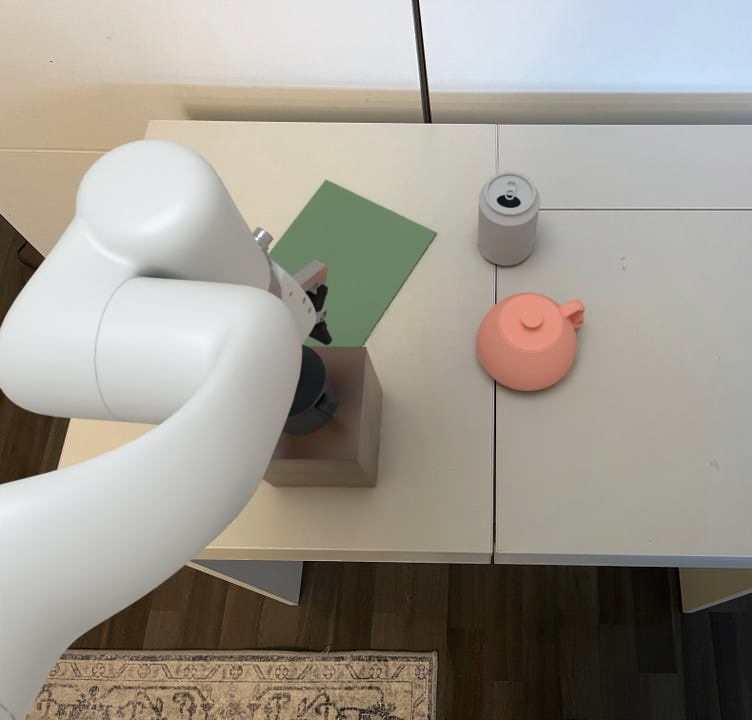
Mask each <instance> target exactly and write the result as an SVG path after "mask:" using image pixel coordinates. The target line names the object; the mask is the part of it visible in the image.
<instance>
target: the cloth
mask: <svg viewBox="0 0 752 720" xmlns="http://www.w3.org/2000/svg"><path fill="white" fill-rule="evenodd" d="M437 235H438V232H437V231H434V230H432V229H430V228H428V227H426V226H424V225H422V224H420V223H418V222H416V221H414V220H411V219H409V218H408V217H406V216H404V215H401V214H399V213H397V212H395V211H393V210H391V209H389V208H386V207H384V206H383V205H380V204H378V203H376V202H373V201H372V200H370V199H367V198H366V197H363V196H361V195H359V194H357V193H355V192H353V191H352V190H349V189H347V188H345V187H343V186H340V185H338V184H337V183H335V182H332V181H330V180H328V179H324V181H323V182H322V184H321V185H320V187H318V189H317V190H316V191H315V192H314V194H313V196H312V197H311V198H310V200H309V201H308V202H307V203H306V204H305V206H304V207H303V208H302V210H301V211H300V212H299V213H298V214H297V216H296V217H295V219H294V220H293V221H292V222H291V224H290V225H289V227H288V228H287V229H286V231H285V232H284V233H283V234H282V236H281V237H280V238H279V240H278V241H277V242H276V244H275V245H273V247H272V249H271V250H270V251H269V252H268V254H267V256H268V258H270V259H272V260H273V261H274V262H276V263H277V264H278V265H279V266H281V267H282V268H283V269H284V270H285V271H286V272H287V273H288V274H289V275H290V276H291V277H292V276H293V275H294V274H296V273H297V272H298V271H300V270H301V269H302V268H304V267H305V266H306V265H308V264H309V263H310V262H312V261H313V260H316V261H318V262H320V263H322V264H324V265H326V266H327V267H328V270H327V281H326V282H325V286H327V287H328V291H327V292H328V293H327V295H326V298H325V302H324V305H323V309H325V310H327V315H326V318H325V319H324V320H325V322H326V324H327V327H326V328H327V330H328V332H329V334H330V336H331V338H332V342H331V343H330V344H328V345H325V344H323V343H321V342H319V341H317V340H315V339H313V338H311V337H310V336H308V337H307V339H306V340H305V341H304V343H303V344H302V345H305V346H328V347H363V345H364V344H365V342H366V341H367V339H368V338H369V337H370V335H371V333H372V332H373V330H374V329H375V327H376V326H377V324H378V323H379V321H380V320H381V318H382V317H383V316H384V314H385V312H386V311H387V309H388V308H389V306H390V305H391V304H392V302H393V300H394V299H395V297H396V296H397V294H398V293H399V292H400V290H401V288H402V287H403V285H404V284H405V282H406V281H407V279H408V278H409V276H410V275H411V273H412V272H413V271H414V269H415V267H416V265H417V264H418V263H419V262H420V260H421V258H422V257H423V255H424V254H425V253H426V251H427V250H428V248H429V246H430V245H431V244H432V243H433V241H434V239H435V238H436V236H437Z"/></svg>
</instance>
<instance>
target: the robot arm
mask: <svg viewBox="0 0 752 720" xmlns="http://www.w3.org/2000/svg"><path fill="white" fill-rule="evenodd" d="M273 240H274V238H273V236H272V234H271V233H269V232H268V231H267V230H265V229H264V228H261V227H256V228H255V229H254V231H253V232H252V230H251V229H250V227H249V225H248V223H247V221H246V220H245V218H244V216H243V215H242V213H241V211H240V210H239V208H238V206H237V204H236V202H235V200H234V199H233V197H232V195H231V194H230V192H229V190H228V188H227V187H226V185H225V183H224V182H223V180H222V178H221V176H220V175H219V174H218V172H217V171H216V169H215V168H214V167H213V165H212V164H211V163H210V161H208V160H207V159H206V158H205V157H204V156H203V155H202V154H200V153H199V152H198V151H196V150H194V149H192V148H191V147H189V146H187V145H185V144H182V143H179V142H176V141H172V140H167V139H159V138H149V139H148V138H147V139H139V140H135V141H130V142H126V143H125V144H122V145H119V146H117V147H115V148H113V149H111V150H110V151H108V152H106V153H104V154H103V155H102V156H101V157H99V158H98V159H97V160H96V161H95V162H94V163H93V164H92V165H91V166H90V167H89V169H88V170H87V171H86V172H85V174H84V176H83V177H82V179H81V181H80V183H79V186H78V189H77V192H76V198H75V214H74V217H73V219H72V220H71V222H70V223H69V225H68V226H67V227H66V229H65V230H64V232H63V233H62V235H61V237H60V238H59V239H58V241H57V243H56V244H55V245H54V246H53V248H52V249H51V251H50V252H49V253H48V254H47V256H46V257H45V258H44V260H43V261H42V263H41V264H40V265H39V266H38V268H37V269H36V270H35V272H34V273H33V274H32V276H31V277H30V278H29V280H28V281H27V282H26V284H25V285H24V287H23V288H22V289H21V291H20V292H19V294H18V295H17V296H16V298H15V299H14V301H13V303H12V304H11V305H10V308H9V309H8V311H7V313H6V315H5V317H4V319H3V321H2V323H1V326H0V389H1V391H2V393H3V394H4V396H6V397H7V398H8V399H9V400H10V401H11V402H12V403H14V404H15V405H16V406H18V407H20V408H21V409H24V410H26V411H28V412H32V413H35V414H38V415H42V416H43V415H44V416H48V417H49V416H50V417H55V418H64V419H77V420H90V421H102V422H103V421H106V422H117V423H118V422H120V423H129V424H142V425H153V426H154V425H156V426H155V427H153V428H151V429H149V431H147V432H145V433H143V434H141V435H140V436H138V437H136V438H135V439H133V440H130V441H129V442H127V443H124V444H122V445H120V446H118V447H115V448H114V449H111V450H109V451H107V452H104V453H102V454H99V455H96V456H94V457H91V458H88V459H86V460H83V461H81V462H77V463H75V464H71V465H68V466H64V467H62V468H59V469H55V470H52V471H47V472H46V473H45V472H44V473H41V474H38V475H37V474H36V475H32V476H30V477H29V476H28V477H25V478H21V479H18V480H13V481H9V482H5V483H1V484H0V720H26V718H27V717H28V714H29V713H30V711H31V710H32V707H33V705H34V703H35V701H36V700H37V698H38V695H39V694H40V692H41V690H42V689H43V686H44V684H45V683H46V680H48V677H49V676H50V674H51V672H52V671H53V669H54V667H55V666H56V664H57V663H58V661H59V660H60V658H61V657H62V655H63V654H64V653H65V652H66V650H68V648H70V646H71V645H72V644H73V643H74V642H75V641H76V640H77V639H79V638H80V637H82V636H83V635H84V634H85V633H87V632H89V631H90V630H92V629H93V628H95V627H96V626H98V625H99V624H101V623H103V622H105V621H106V620H108V619H110V618H111V617H113V616H115V615H116V614H118V613H120V612H121V611H123V610H124V609H126V608H128V607H130V606H131V605H132V604H134V603H135V602H137V601H138V600H140V599H142V598H143V597H145V596H146V595H147V594H149V593H151V592H152V591H153V590H155V589H156V588H158V587H159V586H161V585H162V584H163V583H164V582H165V581H167V580H168V579H169V578H171V577H172V576H173V575H174V574H176V573H177V572H178V571H180V570H181V569H182V568H184V567H185V566H186V565H187V564H188V563H189V562H191V561H192V560H193V559H194V558H195V557H196V556H197V555H199V554H200V553H201V552H202V551H204V550H205V549H206V548H207V547H208V546H209V545H210V544H211V543H213V542H214V541H215V540H216V539H217V538H218V537H219V536H220V535H222V533H223V532H224V531H225V530H226V529H227V528H228V527H229V526H230V525H231V524H232V523H233V522H234V521H235V520H236V519H237V518H238V517H239V515H240V514H241V512H243V510H244V509H245V507H247V505H248V504H249V503H250V501H251V500H252V498H253V497H254V495H255V493H256V492H257V490H258V488H259V487H260V485H261V483H262V481H263V479H262V478H263V476H264V474H265V472H266V470H267V467H268V465H269V462H270V459H271V457H272V454H273V452H274V449H275V447H276V445H277V442H278V440H279V437H280V435H281V432H282V430H283V427H284V425H285V422H286V419H287V416H288V414H289V411H290V408H291V405H292V402H293V399H294V395H295V392H296V388H297V384H298V380H299V376H300V370H301V362H302V344H303V343H304V341H305V340H306V339H307V337H308V336H310V337H311V338H313V339H315V340H317V341H319V342H321V343H323V344H325V345H328V344H330V343H331V342H332V338H331V336H330V334H329V332H328V330H327V328H326V327H327V324H326V322H325V320H324V319H325V318H326V315H327V310H325V309H323V305H324V302H325V298H326V295H327V293H328V292H327V291H328V287H327V286H325V282H326V281H327V270H328V267H327V266H326V265H324V264H322V263H320V262H318V261H316V260H313V261H312V262H310V263H309V264H308V265H306V266H305V267H304V268H302V269H301V270H300V271H298V272H297V273H296V274H294V275H293V276H292V277H291V276H290V275H289V274H288V273H287V272H286V271H285V270H284V269H283V268H282V267H281V266H279V265H278V264H277V263H276V262H274V261H273V260H272V259H270V258H268V256H267V255H268V254H269V251H268V250H269V248H270V247H269V245H271V243H272V242H273Z"/></svg>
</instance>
